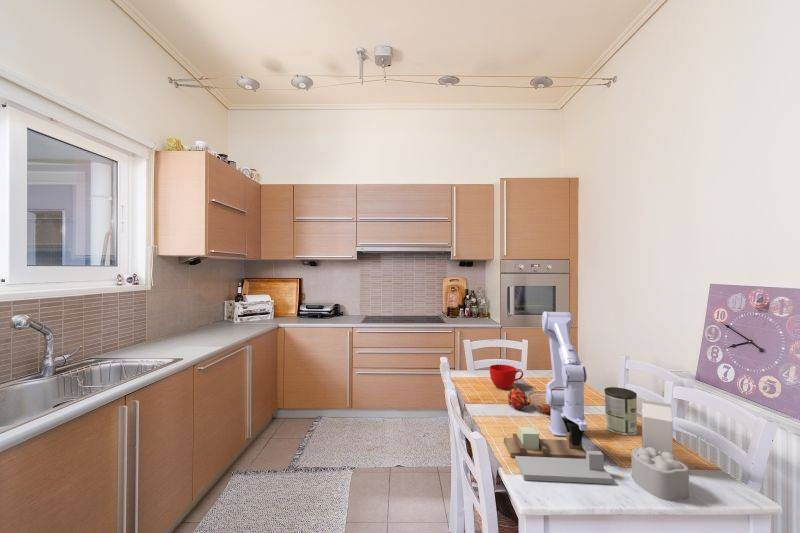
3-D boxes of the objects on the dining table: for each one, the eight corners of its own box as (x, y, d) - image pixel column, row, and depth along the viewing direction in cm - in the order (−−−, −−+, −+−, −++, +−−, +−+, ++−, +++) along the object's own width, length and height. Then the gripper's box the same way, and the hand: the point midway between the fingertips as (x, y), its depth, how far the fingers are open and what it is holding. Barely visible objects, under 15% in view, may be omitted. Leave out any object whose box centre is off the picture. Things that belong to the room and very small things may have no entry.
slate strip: (595, 464, 106) (595, 444, 106) (612, 484, 96) (612, 462, 96) (515, 460, 108) (515, 441, 108) (524, 479, 98) (524, 458, 98)
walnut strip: (575, 444, 118) (575, 427, 118) (589, 460, 108) (589, 441, 108) (503, 442, 120) (503, 424, 120) (510, 457, 110) (510, 438, 110)
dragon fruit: (514, 405, 158) (524, 420, 146) (499, 395, 157) (508, 409, 145) (526, 391, 157) (536, 404, 145) (511, 380, 156) (520, 393, 144)
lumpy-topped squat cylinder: (662, 502, 89) (661, 468, 89) (621, 473, 102) (620, 443, 102) (695, 497, 91) (695, 464, 91) (651, 469, 104) (650, 440, 104)
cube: (534, 442, 117) (534, 427, 117) (539, 449, 112) (538, 434, 112) (519, 441, 117) (518, 426, 117) (523, 449, 112) (523, 433, 112)
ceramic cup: (527, 391, 171) (527, 371, 171) (493, 391, 171) (493, 371, 172) (519, 383, 184) (518, 364, 184) (487, 383, 184) (487, 364, 185)
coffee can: (608, 420, 138) (608, 385, 138) (639, 428, 131) (639, 391, 131) (601, 429, 130) (601, 391, 130) (634, 438, 123) (633, 398, 123)
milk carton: (673, 473, 102) (672, 407, 102) (643, 466, 106) (642, 403, 106) (670, 461, 108) (669, 400, 108) (642, 455, 112) (641, 396, 112)
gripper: (553, 393, 121) (553, 432, 121) (570, 409, 107) (570, 454, 107) (574, 393, 121) (574, 433, 120) (594, 410, 106) (594, 455, 106)
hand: (574, 443), depth 114 cm, fingers closed on walnut strip, 2 cm apart
